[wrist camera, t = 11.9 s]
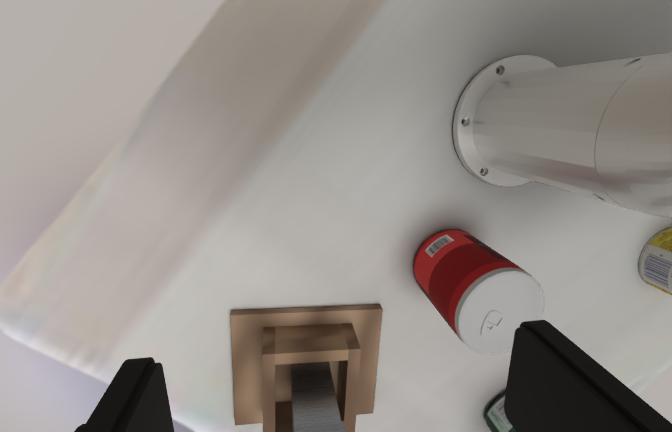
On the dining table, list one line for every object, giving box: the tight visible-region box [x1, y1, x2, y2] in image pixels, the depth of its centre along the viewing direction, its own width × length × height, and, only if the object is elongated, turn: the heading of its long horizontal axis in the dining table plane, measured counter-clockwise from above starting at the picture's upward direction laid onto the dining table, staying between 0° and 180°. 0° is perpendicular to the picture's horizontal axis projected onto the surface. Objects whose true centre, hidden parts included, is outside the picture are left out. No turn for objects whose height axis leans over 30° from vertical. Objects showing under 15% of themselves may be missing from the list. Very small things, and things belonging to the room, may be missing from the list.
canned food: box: [414, 230, 544, 355], centre depth 36 cm, size 8×8×11 cm
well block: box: [230, 304, 382, 432], centre depth 39 cm, size 16×14×6 cm
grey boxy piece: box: [290, 361, 346, 432], centre depth 35 cm, size 4×6×12 cm, turn 178°
